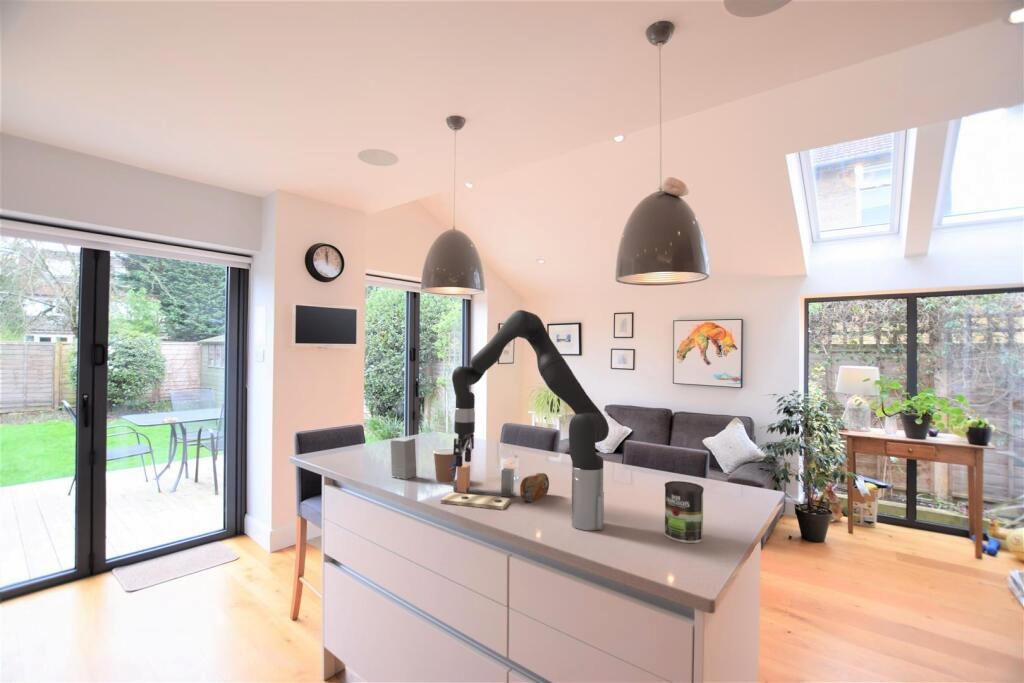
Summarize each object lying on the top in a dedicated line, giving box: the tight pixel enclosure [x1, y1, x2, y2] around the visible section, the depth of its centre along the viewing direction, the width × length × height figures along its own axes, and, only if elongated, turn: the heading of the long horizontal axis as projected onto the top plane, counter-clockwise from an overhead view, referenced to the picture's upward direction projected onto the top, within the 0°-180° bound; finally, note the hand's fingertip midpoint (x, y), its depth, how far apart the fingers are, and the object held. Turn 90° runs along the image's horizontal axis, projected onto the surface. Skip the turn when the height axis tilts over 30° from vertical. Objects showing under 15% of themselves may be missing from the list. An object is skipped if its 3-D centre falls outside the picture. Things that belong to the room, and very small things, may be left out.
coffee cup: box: [433, 448, 457, 484], centre depth 185 cm, size 10×10×12 cm
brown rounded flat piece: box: [519, 472, 550, 503], centre depth 163 cm, size 15×3×8 cm, turn 143°
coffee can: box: [664, 480, 705, 544], centre depth 130 cm, size 10×10×14 cm
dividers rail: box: [452, 467, 517, 499], centre depth 168 cm, size 23×4×9 cm, turn 74°
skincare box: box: [390, 437, 417, 480], centre depth 190 cm, size 8×7×16 cm
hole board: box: [440, 492, 511, 511], centre depth 158 cm, size 22×9×1 cm, turn 74°
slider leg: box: [456, 464, 471, 494], centre depth 171 cm, size 4×4×9 cm
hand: (463, 464), depth 171 cm, fingers open, 8 cm apart
